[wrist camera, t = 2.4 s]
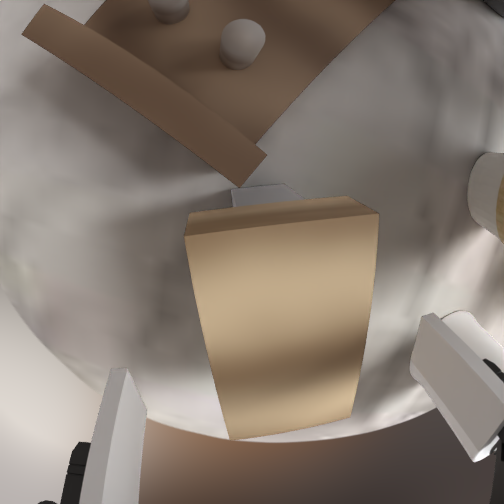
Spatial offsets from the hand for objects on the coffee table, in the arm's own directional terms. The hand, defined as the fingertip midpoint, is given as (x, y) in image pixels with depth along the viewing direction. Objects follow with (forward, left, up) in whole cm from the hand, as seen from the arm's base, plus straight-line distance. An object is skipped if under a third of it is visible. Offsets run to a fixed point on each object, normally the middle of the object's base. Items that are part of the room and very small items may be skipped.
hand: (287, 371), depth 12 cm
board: (0, 0, -4) cm, 4 cm away
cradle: (-13, -12, -8) cm, 19 cm away
